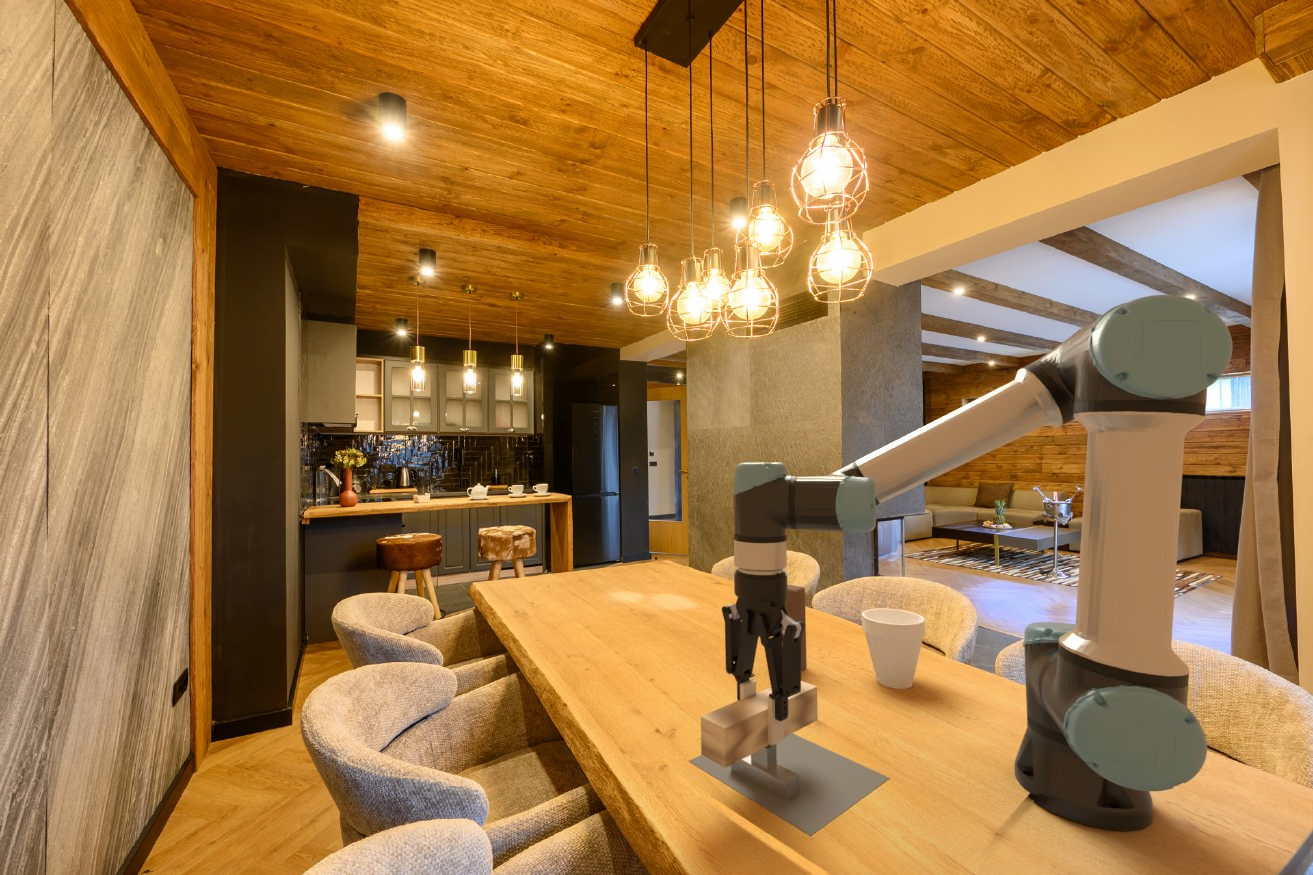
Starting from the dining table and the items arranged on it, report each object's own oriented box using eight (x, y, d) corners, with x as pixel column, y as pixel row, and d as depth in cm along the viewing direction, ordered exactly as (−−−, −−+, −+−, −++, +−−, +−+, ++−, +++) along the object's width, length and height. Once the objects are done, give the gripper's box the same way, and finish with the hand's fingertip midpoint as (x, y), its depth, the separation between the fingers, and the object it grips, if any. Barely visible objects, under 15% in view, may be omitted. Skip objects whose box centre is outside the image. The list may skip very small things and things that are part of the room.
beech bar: (724, 768, 71) (724, 728, 72) (701, 754, 75) (700, 716, 75) (817, 720, 84) (817, 686, 84) (793, 709, 87) (793, 677, 88)
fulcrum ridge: (799, 794, 76) (799, 753, 76) (786, 802, 74) (785, 760, 74) (744, 763, 84) (744, 726, 84) (730, 770, 82) (730, 732, 82)
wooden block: (787, 680, 118) (785, 594, 118) (768, 675, 121) (766, 591, 121) (807, 668, 124) (805, 586, 125) (789, 663, 127) (787, 584, 128)
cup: (850, 676, 119) (848, 612, 120) (893, 667, 124) (891, 605, 125) (895, 699, 108) (893, 627, 108) (941, 688, 113) (939, 620, 113)
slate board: (890, 785, 80) (890, 778, 80) (810, 844, 68) (810, 835, 68) (769, 728, 97) (769, 722, 97) (688, 767, 85) (688, 761, 85)
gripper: (828, 575, 76) (830, 750, 75) (733, 557, 89) (734, 705, 88) (794, 583, 71) (796, 770, 70) (699, 563, 85) (700, 720, 84)
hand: (762, 733), depth 79 cm, fingers closed on beech bar, 4 cm apart
